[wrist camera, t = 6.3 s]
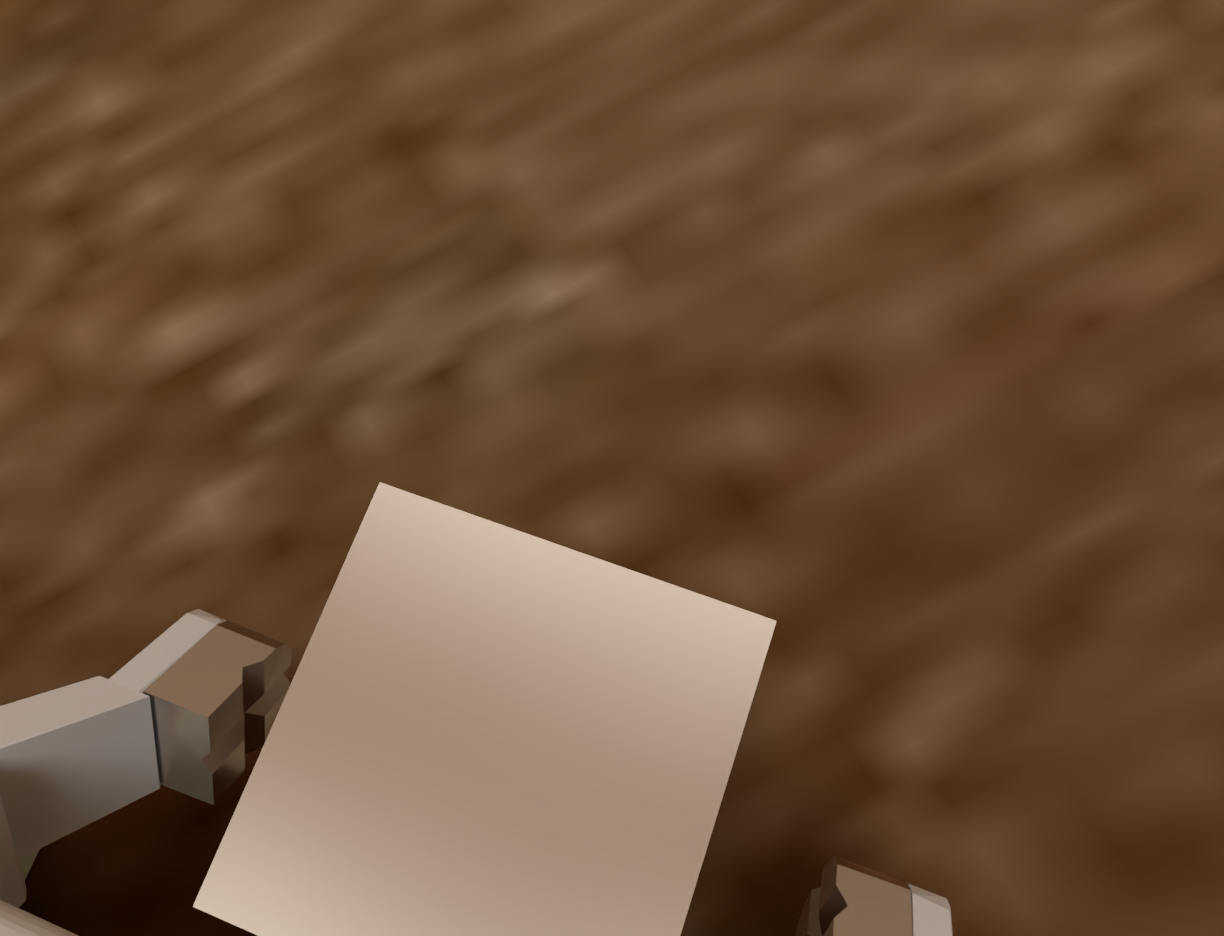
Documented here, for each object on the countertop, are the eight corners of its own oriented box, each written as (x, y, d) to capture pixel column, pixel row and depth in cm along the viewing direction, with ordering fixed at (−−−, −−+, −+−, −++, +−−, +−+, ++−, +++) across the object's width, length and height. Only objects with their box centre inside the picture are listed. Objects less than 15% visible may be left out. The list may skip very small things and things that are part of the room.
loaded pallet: (659, 922, 15) (658, 1170, 7) (401, 817, 16) (136, 934, 8) (744, 649, 17) (826, 596, 8) (501, 563, 17) (360, 436, 9)
